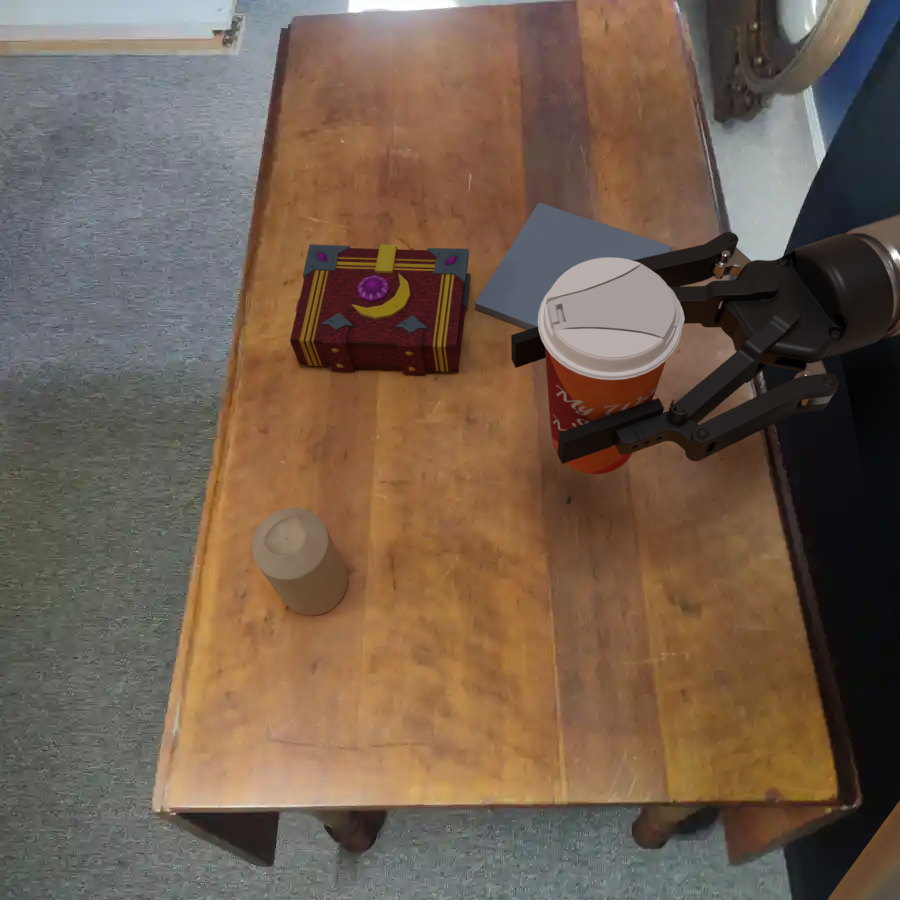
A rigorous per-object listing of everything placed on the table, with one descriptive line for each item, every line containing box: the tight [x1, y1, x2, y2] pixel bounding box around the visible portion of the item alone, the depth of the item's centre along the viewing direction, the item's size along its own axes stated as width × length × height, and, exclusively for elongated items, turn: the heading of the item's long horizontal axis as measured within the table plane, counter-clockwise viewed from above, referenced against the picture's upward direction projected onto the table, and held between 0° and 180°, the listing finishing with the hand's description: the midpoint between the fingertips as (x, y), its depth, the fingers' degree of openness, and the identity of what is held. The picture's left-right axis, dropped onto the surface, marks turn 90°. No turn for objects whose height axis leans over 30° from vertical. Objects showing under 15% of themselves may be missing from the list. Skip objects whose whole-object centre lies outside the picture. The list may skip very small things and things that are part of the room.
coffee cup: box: [538, 257, 685, 475], centre depth 54 cm, size 8×8×15 cm
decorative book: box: [289, 243, 472, 376], centre depth 78 cm, size 11×16×5 cm
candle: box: [251, 507, 348, 617], centre depth 63 cm, size 6×6×10 cm
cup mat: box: [474, 202, 673, 330], centre depth 80 cm, size 14×14×1 cm
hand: (536, 398), depth 53 cm, fingers closed on coffee cup, 7 cm apart
